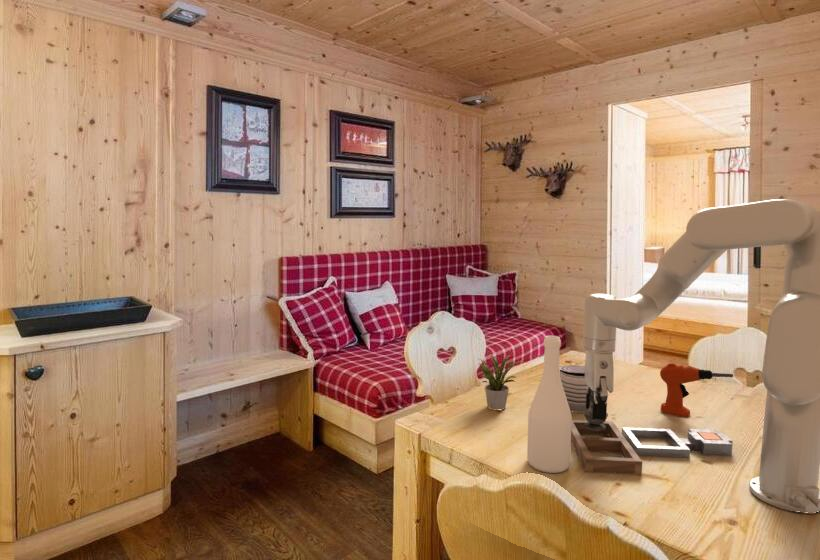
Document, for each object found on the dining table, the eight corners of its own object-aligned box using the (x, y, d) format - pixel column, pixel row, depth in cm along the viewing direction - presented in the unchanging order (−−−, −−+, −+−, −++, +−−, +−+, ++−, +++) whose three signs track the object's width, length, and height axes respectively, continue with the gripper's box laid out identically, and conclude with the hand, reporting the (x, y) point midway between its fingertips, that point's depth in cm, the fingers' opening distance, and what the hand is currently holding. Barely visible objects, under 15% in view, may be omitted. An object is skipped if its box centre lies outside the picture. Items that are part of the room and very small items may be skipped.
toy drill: (736, 421, 139) (731, 367, 138) (659, 415, 150) (655, 365, 149) (736, 416, 143) (732, 362, 142) (662, 410, 154) (657, 361, 153)
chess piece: (587, 420, 135) (589, 375, 133) (610, 426, 131) (613, 380, 129) (579, 427, 130) (581, 381, 128) (602, 433, 126) (605, 386, 125)
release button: (721, 450, 125) (721, 439, 125) (704, 449, 125) (705, 439, 125) (713, 443, 129) (714, 433, 128) (697, 442, 129) (698, 432, 129)
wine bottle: (562, 454, 124) (566, 332, 120) (576, 474, 114) (581, 341, 110) (522, 455, 123) (525, 332, 120) (533, 475, 114) (537, 342, 110)
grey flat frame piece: (739, 459, 121) (740, 447, 120) (637, 455, 123) (637, 443, 123) (715, 438, 132) (715, 426, 132) (621, 434, 135) (622, 423, 134)
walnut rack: (641, 474, 114) (642, 461, 114) (585, 471, 115) (586, 459, 115) (612, 432, 136) (612, 421, 136) (565, 430, 137) (566, 419, 137)
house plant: (522, 399, 161) (523, 348, 159) (527, 416, 147) (529, 360, 145) (475, 398, 162) (476, 347, 160) (477, 414, 148) (478, 359, 146)
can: (556, 410, 152) (557, 370, 150) (558, 397, 162) (559, 360, 161) (597, 415, 148) (599, 374, 147) (596, 401, 159) (598, 363, 157)
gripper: (625, 353, 119) (621, 428, 121) (605, 336, 136) (601, 402, 138) (592, 352, 120) (588, 427, 122) (575, 335, 137) (573, 401, 139)
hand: (595, 413), depth 130 cm, fingers closed on chess piece, 5 cm apart
